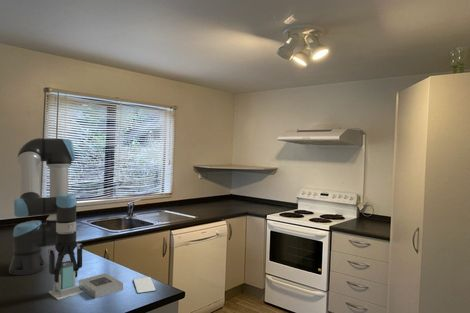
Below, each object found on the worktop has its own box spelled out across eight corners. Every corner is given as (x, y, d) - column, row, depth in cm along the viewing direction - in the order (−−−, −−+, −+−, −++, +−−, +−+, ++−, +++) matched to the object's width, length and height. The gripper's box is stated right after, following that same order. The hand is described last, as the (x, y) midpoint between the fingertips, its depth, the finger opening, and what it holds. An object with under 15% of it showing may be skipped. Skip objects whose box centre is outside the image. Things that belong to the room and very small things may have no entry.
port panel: (78, 287, 148) (78, 279, 148) (105, 279, 157) (105, 272, 157) (95, 298, 137) (95, 290, 137) (123, 289, 146) (123, 282, 146)
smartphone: (156, 292, 145) (150, 278, 160) (156, 290, 145) (150, 276, 160) (137, 295, 142) (132, 280, 157) (137, 293, 142) (132, 278, 157)
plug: (58, 291, 142) (58, 262, 142) (69, 288, 145) (69, 260, 145) (62, 294, 139) (62, 265, 139) (73, 291, 142) (73, 263, 142)
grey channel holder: (48, 292, 142) (48, 285, 142) (73, 285, 149) (73, 279, 149) (57, 300, 135) (57, 293, 135) (83, 292, 142) (83, 285, 142)
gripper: (45, 237, 133) (45, 296, 133) (91, 229, 146) (91, 284, 146) (39, 233, 138) (39, 291, 138) (84, 226, 151) (83, 279, 151)
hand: (66, 287), depth 142 cm, fingers open, 5 cm apart
